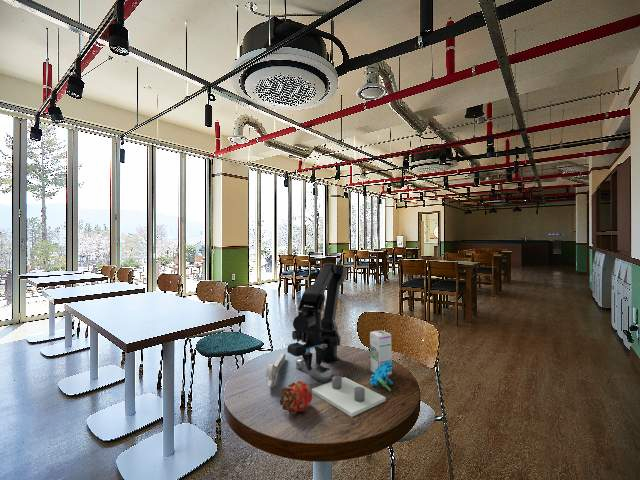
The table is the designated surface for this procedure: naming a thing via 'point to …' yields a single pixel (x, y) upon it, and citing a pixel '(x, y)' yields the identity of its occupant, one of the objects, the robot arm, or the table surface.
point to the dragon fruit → (296, 397)
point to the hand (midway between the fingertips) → (313, 368)
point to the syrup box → (379, 349)
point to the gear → (382, 375)
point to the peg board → (348, 395)
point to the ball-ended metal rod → (315, 370)
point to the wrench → (274, 370)
